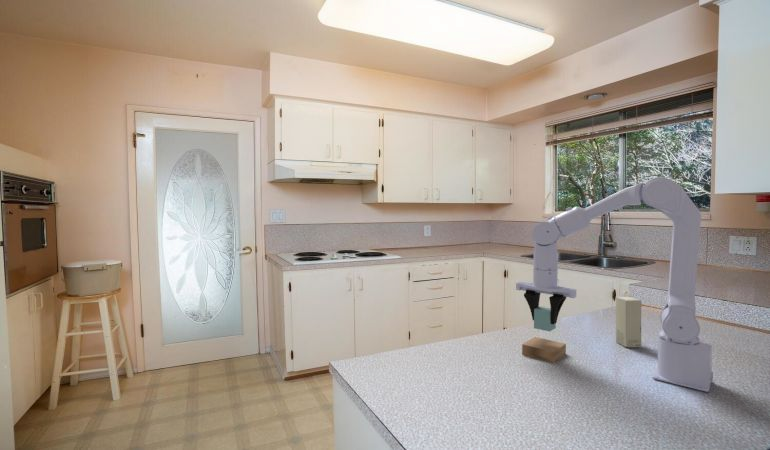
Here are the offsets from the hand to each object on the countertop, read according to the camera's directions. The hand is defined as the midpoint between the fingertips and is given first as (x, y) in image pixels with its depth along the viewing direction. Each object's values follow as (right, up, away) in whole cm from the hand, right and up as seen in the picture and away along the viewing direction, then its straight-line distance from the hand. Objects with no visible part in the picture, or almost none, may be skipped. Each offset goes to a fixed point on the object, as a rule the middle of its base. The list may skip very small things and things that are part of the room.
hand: (544, 321), depth 99 cm
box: (+26, -8, +7) cm, 28 cm away
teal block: (0, -2, 0) cm, 2 cm away
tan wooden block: (0, -9, 0) cm, 9 cm away
